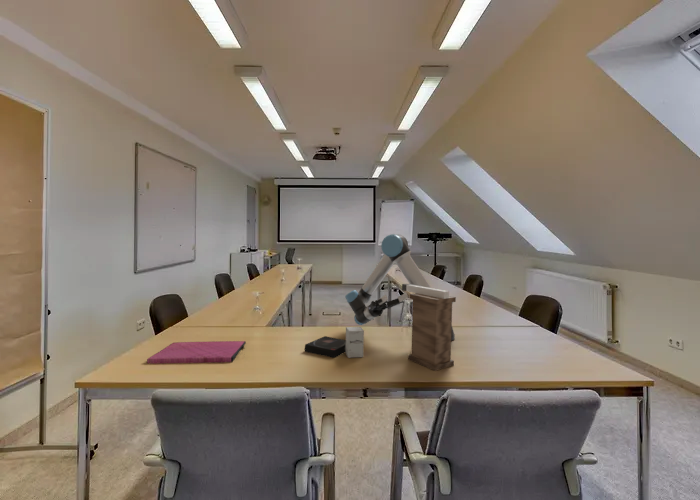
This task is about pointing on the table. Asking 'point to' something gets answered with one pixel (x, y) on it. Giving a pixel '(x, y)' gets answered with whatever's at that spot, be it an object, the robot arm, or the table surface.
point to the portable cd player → (326, 346)
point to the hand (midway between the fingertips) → (396, 296)
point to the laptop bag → (198, 352)
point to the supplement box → (354, 342)
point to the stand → (431, 331)
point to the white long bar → (426, 291)
